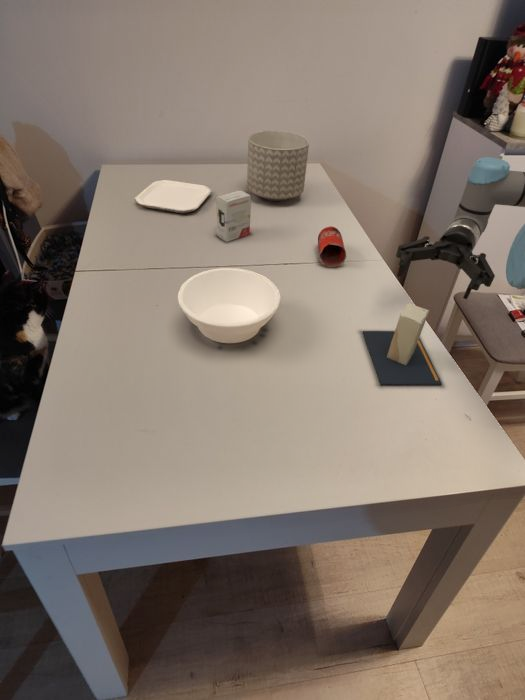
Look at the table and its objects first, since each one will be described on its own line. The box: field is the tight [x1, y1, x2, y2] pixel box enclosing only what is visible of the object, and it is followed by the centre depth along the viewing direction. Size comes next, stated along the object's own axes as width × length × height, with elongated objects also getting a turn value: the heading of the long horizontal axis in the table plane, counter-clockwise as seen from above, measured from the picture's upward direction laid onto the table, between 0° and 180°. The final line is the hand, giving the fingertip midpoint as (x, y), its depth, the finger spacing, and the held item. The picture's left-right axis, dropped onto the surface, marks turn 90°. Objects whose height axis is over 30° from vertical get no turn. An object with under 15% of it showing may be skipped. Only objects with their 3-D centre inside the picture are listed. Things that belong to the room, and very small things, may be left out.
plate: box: [134, 179, 213, 214], centre depth 143 cm, size 21×21×2 cm
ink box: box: [216, 189, 252, 243], centre depth 124 cm, size 9×5×12 cm, turn 130°
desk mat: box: [362, 330, 443, 386], centre depth 91 cm, size 16×12×1 cm
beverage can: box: [317, 225, 347, 268], centre depth 119 cm, size 7×12×7 cm, turn 178°
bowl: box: [177, 267, 282, 344], centre depth 94 cm, size 21×21×8 cm
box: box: [387, 302, 430, 365], centre depth 88 cm, size 5×4×11 cm
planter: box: [246, 130, 310, 202], centre depth 145 cm, size 19×19×18 cm
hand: (432, 281), depth 89 cm, fingers open, 13 cm apart
